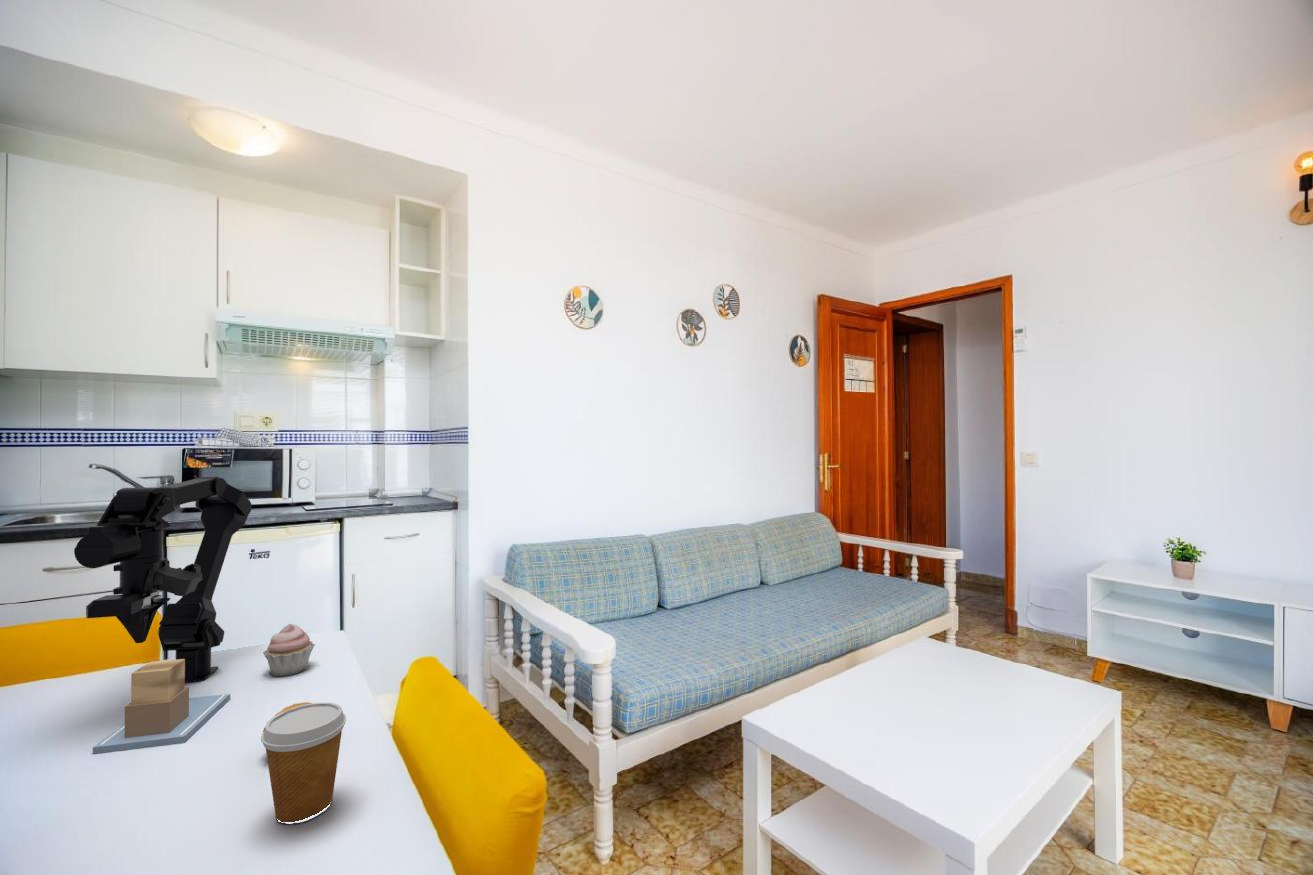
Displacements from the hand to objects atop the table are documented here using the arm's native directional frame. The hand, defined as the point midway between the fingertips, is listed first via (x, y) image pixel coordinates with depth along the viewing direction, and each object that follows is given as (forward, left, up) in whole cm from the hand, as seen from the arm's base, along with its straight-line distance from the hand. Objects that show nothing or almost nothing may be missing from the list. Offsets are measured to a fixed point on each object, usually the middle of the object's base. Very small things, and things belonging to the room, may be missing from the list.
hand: (140, 642), depth 102 cm
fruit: (+24, +32, -12) cm, 42 cm away
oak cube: (+11, +8, -6) cm, 15 cm away
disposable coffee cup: (+40, +38, -12) cm, 56 cm away
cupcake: (-12, +20, -12) cm, 26 cm away
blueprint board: (+8, +8, -12) cm, 16 cm away
